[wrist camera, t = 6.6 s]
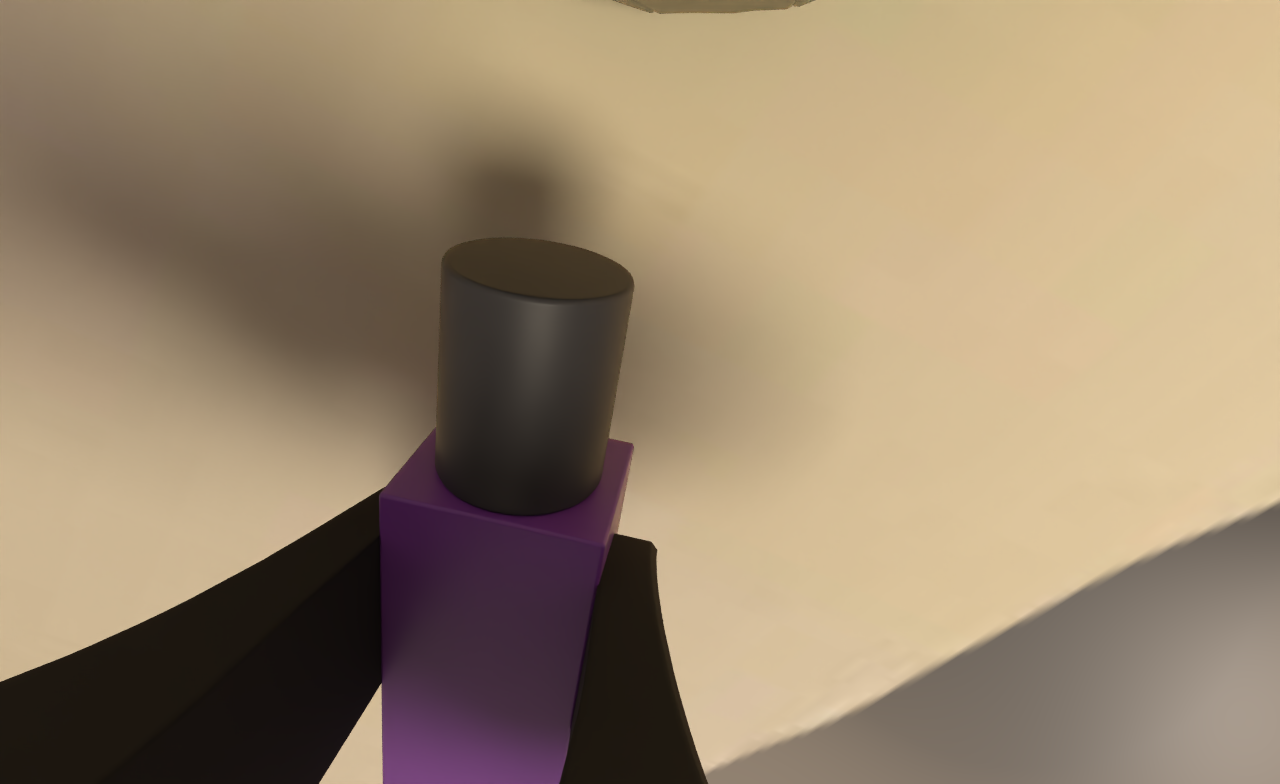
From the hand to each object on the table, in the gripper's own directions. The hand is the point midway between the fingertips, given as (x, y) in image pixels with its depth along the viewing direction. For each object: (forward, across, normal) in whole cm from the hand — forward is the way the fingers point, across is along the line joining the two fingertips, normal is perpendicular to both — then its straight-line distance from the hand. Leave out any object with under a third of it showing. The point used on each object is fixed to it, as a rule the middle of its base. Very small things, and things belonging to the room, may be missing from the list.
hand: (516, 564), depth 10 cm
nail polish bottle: (+1, 0, 0) cm, 1 cm away
